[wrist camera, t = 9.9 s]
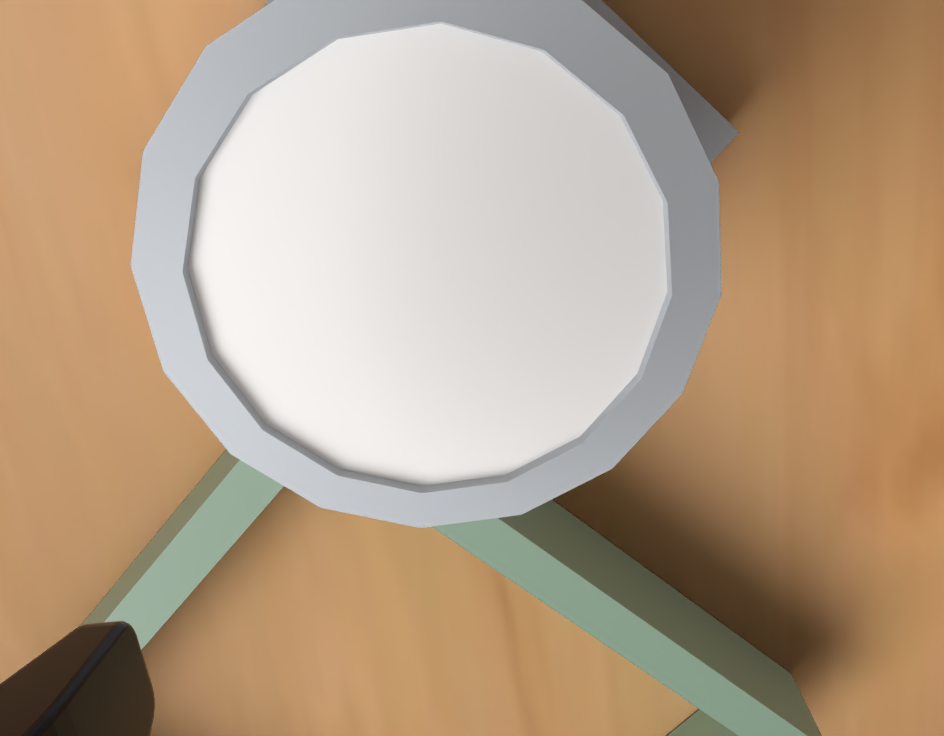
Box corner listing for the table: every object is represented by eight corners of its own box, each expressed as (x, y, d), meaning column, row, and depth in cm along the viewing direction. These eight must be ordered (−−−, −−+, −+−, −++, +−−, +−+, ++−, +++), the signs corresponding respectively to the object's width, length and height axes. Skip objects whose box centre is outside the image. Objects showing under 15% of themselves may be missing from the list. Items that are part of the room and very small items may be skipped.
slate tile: (727, 125, 17) (739, 132, 16) (464, 409, 19) (464, 426, 19) (404, -184, 15) (401, -193, 14) (151, 178, 17) (138, 187, 17)
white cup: (450, -131, 15) (451, -217, 8) (693, 178, 17) (844, 304, 10) (175, 150, 16) (-3, 263, 10) (427, 397, 18) (416, 619, 12)
